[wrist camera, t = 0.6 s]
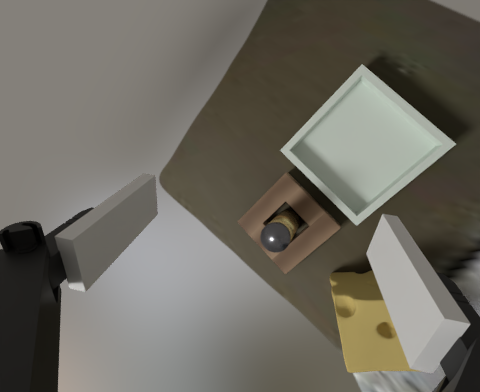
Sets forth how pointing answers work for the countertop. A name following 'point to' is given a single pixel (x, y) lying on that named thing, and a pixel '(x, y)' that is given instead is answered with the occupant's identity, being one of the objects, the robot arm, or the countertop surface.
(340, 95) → the tray
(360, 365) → the cheese
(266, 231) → the brown and black cylinder
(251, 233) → the pin block
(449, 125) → the countertop surface
